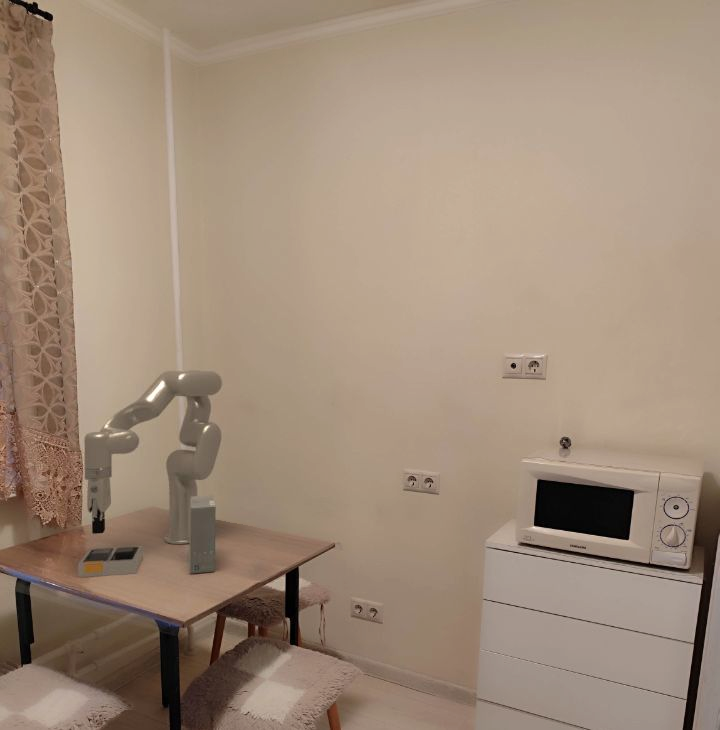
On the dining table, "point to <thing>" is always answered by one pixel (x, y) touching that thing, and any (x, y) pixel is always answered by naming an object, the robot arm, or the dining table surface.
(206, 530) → the hard drive box
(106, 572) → the grey divided tray
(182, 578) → the dining table surface
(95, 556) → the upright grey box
